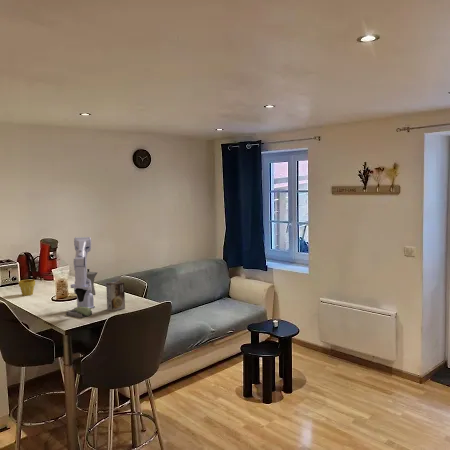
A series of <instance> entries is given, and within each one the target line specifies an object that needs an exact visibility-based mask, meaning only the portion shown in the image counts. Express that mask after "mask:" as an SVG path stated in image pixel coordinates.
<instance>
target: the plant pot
mask: <svg viewBox="0 0 450 450" xmlns="http://www.w3.org/2000/svg"><path fill="white" fill-rule="evenodd" d="M35 286H36V279H22V280H19V281H18V287H19V288H20V292H21V295H22V297H23V296H24V297H28V296H32V295H33V294H34V290H35Z"/></svg>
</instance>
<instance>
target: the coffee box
mask: <svg viewBox="0 0 450 450" xmlns="http://www.w3.org/2000/svg"><path fill="white" fill-rule="evenodd" d="M105 284H106V309H107V310H108V311H111V312H113V311H114V312H115V311H119V310H123V309H124V310H125V309H126V299H125V298H126V297H125V294H126V293H125V282H123V281H120V280H119V281H118V280H117V281H112V282H106V283H105Z"/></svg>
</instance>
